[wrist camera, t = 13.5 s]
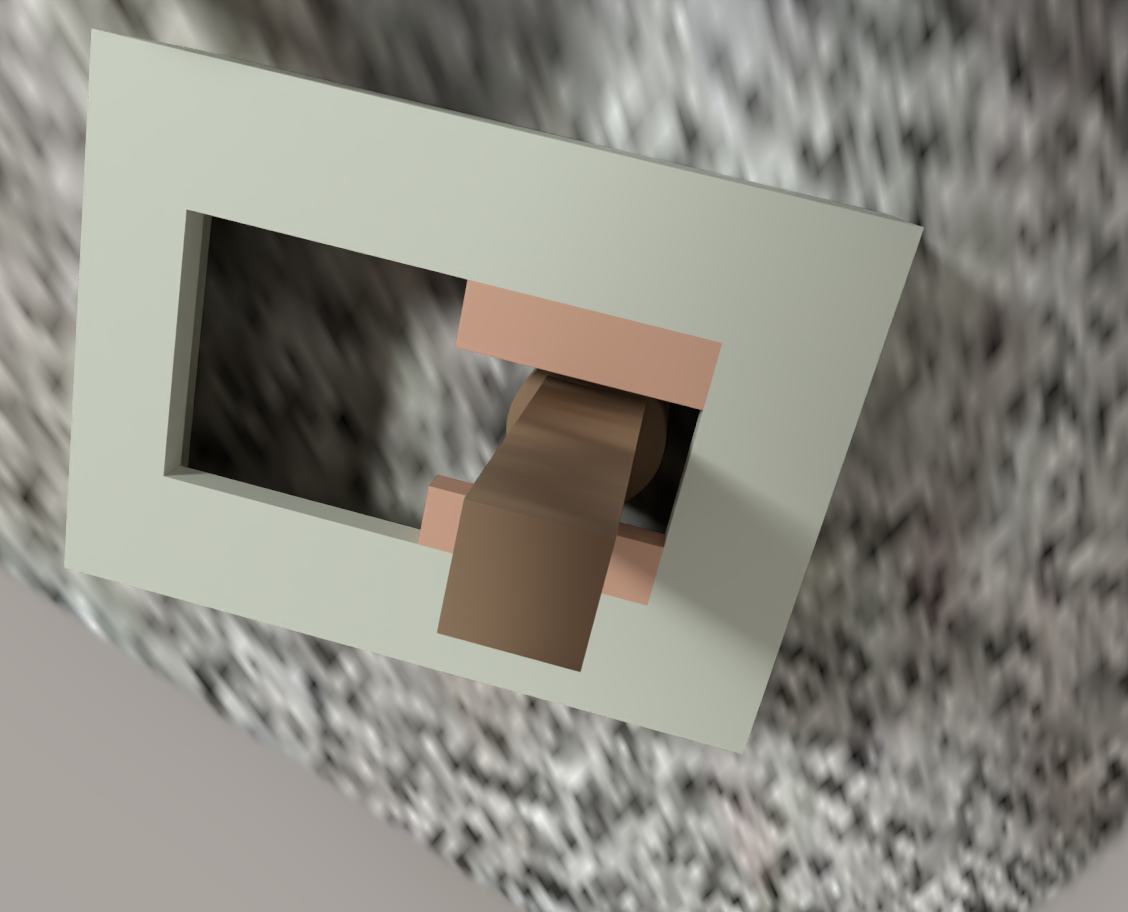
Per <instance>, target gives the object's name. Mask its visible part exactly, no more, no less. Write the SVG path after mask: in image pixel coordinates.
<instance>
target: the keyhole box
mask: <svg viewBox="0 0 1128 912" xmlns="http://www.w3.org/2000/svg"><path fill="white" fill-rule="evenodd" d="M212 216H215V217H219V218H223V219H227V220H231V221H235V222H239V223H243V224H247V225H251V226H255V227H259V228H263V229H267V230H271V231H275V232H279V233H283V234H287V235H291V236H295V237H299V238H303V239H308V240H312V241H316V242H320V243H324V244H328V245H332V246H336V247H340V248H344V249H348V250H352V251H356V252H360V253H364V254H368V255H372V256H376V257H380V258H384V259H388V260H392V261H396V262H400V263H404V264H408V265H412V266H416V267H420V268H424V269H428V270H432V271H436V272H440V273H444V274H448V275H452V276H456V277H460V278H464V279H468V280H467V286H466V291H465V296H464V302H463V307H462V312H461V318H460V323H459V328H458V333H457V339H456V344H455V347H456V348H460V349H464V350H468V351H472V352H476V353H480V354H484V355H488V356H491V357H495V358H499V359H503V360H507V361H511V362H515V363H519V364H523V365H527V366H531V367H535V368H539V369H543V370H547V371H551V372H554V373H558V374H562V375H566V376H570V377H574V378H578V379H582V380H586V381H590V382H594V383H598V384H602V385H606V386H610V387H613V388H617V389H621V390H625V391H629V392H633V393H637V394H641V395H645V396H649V397H653V398H657V399H661V400H665V401H669V402H672V403H676V404H680V405H684V406H688V407H692V408H696V409H700V414H699V417H698V421H697V424H696V428H695V431H694V435H693V438H692V442H691V445H690V449H689V452H688V456H687V459H686V463H685V466H684V470H683V473H682V477H681V480H680V484H679V487H678V491H677V494H676V498H675V501H674V505H673V509H672V512H671V516H670V519H669V523H668V526H667V530H666V533H665V534H661V533H658V532H654V531H650V530H646V529H642V528H639V527H635V526H631V525H627V524H623V523H619V527H618V532H617V536H616V540H615V544H614V548H613V552H612V556H611V559H610V563H609V567H608V571H607V574H606V578H605V582H604V586H603V589H602V593H601V597H600V601H599V604H598V608H597V612H596V616H595V620H594V623H593V627H592V631H591V635H590V638H589V642H588V646H587V650H586V653H585V657H584V661H583V665H582V669H581V672H578V671H574V670H570V669H567V668H563V667H559V666H556V665H552V664H548V663H545V662H541V661H537V660H534V659H530V658H526V657H523V656H519V655H515V654H512V653H508V652H504V651H501V650H497V649H493V648H490V647H486V646H482V645H479V644H475V643H471V642H468V641H464V640H460V639H457V638H453V637H449V636H446V635H442V634H438V633H437V629H438V624H439V619H440V614H441V609H442V604H443V599H444V595H445V590H446V585H447V580H448V575H449V570H450V565H451V560H452V555H453V550H454V545H455V540H456V535H457V530H458V526H459V521H460V516H461V511H462V506H463V501H464V498H465V496H466V495H467V493H468V492H469V491H470V489H471V488H472V486H473V485H474V484H471V483H467V482H463V481H460V480H456V479H452V478H448V477H444V476H441V475H437V476H436V478H435V479H434V480H433V481H432V483H431V484H430V485H429V487H428V493H427V498H426V503H425V508H424V514H423V519H422V524H421V530H420V529H416V528H412V527H409V526H405V525H401V524H397V523H394V522H390V521H386V520H382V519H379V518H375V517H371V516H367V515H364V514H360V513H356V512H352V511H349V510H345V509H341V508H337V507H334V506H330V505H326V504H322V503H319V502H315V501H311V500H307V499H304V498H300V497H296V496H292V495H289V494H285V493H281V492H277V491H274V490H270V489H266V488H262V487H259V486H255V485H251V484H247V483H244V482H240V481H236V480H232V479H229V478H225V477H221V476H217V475H214V474H210V473H206V472H202V471H199V470H195V469H191V468H188V460H189V449H190V439H191V428H192V418H193V407H194V397H195V386H196V376H197V366H198V355H199V345H200V334H201V324H202V313H203V303H204V292H205V282H206V272H207V261H208V251H209V240H210V230H211V219H212ZM923 229H924V227H921V226H918V225H915V224H912V223H910V222H907V221H904V220H901V219H898V218H895V217H893V216H890V215H887V214H884V213H880V212H876V211H872V210H867V209H863V208H859V207H855V206H851V205H846V204H842V203H838V202H834V201H830V200H826V199H821V198H817V197H813V196H809V195H805V194H800V193H796V192H792V191H788V190H784V189H780V188H775V187H771V186H767V185H763V184H759V183H754V182H750V181H746V180H742V179H738V178H733V177H729V176H725V175H721V174H717V173H713V172H708V171H704V170H700V169H696V168H692V167H687V166H683V165H679V164H675V163H671V162H666V161H662V160H658V159H654V158H650V157H646V156H641V155H637V154H633V153H629V152H625V151H620V150H616V149H612V148H608V147H604V146H600V145H595V144H591V143H587V142H583V141H579V140H574V139H570V138H566V137H562V136H558V135H553V134H549V133H545V132H541V131H537V130H533V129H528V128H524V127H520V126H516V125H512V124H507V123H503V122H499V121H495V120H491V119H487V118H482V117H478V116H474V115H470V114H466V113H461V112H457V111H453V110H449V109H445V108H440V107H436V106H432V105H428V104H424V103H420V102H415V101H411V100H407V99H403V98H399V97H394V96H390V95H386V94H382V93H378V92H373V91H369V90H365V89H361V88H357V87H353V86H348V85H344V84H340V83H336V82H332V81H327V80H323V79H319V78H315V77H311V76H307V75H302V74H298V73H294V72H290V71H286V70H281V69H277V68H273V67H269V66H265V65H260V64H256V63H252V62H248V61H244V60H240V59H235V58H231V57H227V56H223V55H219V54H214V53H210V52H206V51H202V50H198V49H193V48H188V47H183V46H178V45H172V44H167V43H162V42H157V41H152V40H147V39H142V38H137V37H132V36H127V35H122V34H117V33H112V32H107V31H102V30H97V29H92V31H91V51H90V71H89V90H88V110H87V130H86V150H85V169H84V189H83V209H82V228H81V248H80V268H79V287H78V307H77V327H76V346H75V366H74V386H73V405H72V425H71V445H70V465H69V484H68V504H67V524H66V543H65V563H64V567H65V568H68V569H72V570H75V571H79V572H83V573H86V574H90V575H94V576H97V577H101V578H104V579H108V580H112V581H115V582H119V583H123V584H126V585H130V586H134V587H137V588H141V589H144V590H148V591H152V592H155V593H159V594H163V595H166V596H170V597H173V598H177V599H181V600H184V601H188V602H192V603H195V604H199V605H203V606H206V607H210V608H213V609H217V610H221V611H224V612H228V613H232V614H235V615H239V616H242V617H246V618H250V619H253V620H257V621H261V622H264V623H268V624H272V625H275V626H279V627H282V628H286V629H290V630H293V631H297V632H301V633H304V634H308V635H312V636H315V637H319V638H322V639H326V640H330V641H333V642H337V643H341V644H344V645H348V646H351V647H355V648H359V649H362V650H366V651H370V652H373V653H377V654H381V655H384V656H388V657H391V658H395V659H399V660H402V661H406V662H410V663H413V664H417V665H420V666H424V667H428V668H431V669H435V670H439V671H442V672H446V673H450V674H453V675H457V676H460V677H464V678H468V679H471V680H475V681H479V682H482V683H486V684H489V685H493V686H497V687H500V688H504V689H508V690H511V691H515V692H519V693H522V694H526V695H529V696H533V697H537V698H540V699H544V700H548V701H551V702H555V703H558V704H562V705H566V706H569V707H573V708H577V709H580V710H584V711H588V712H591V713H595V714H598V715H602V716H606V717H609V718H613V719H617V720H620V721H624V722H627V723H631V724H635V725H638V726H642V727H646V728H649V729H653V730H657V731H660V732H664V733H667V734H671V735H675V736H678V737H682V738H686V739H689V740H693V741H696V742H700V743H704V744H707V745H711V746H715V747H718V748H722V749H726V750H729V751H733V752H736V753H740V754H743V753H744V750H745V747H746V744H747V741H748V738H749V735H750V732H751V729H752V726H753V724H754V721H755V718H756V715H757V712H758V709H759V706H760V703H761V700H762V697H763V695H764V692H765V689H766V686H767V683H768V680H769V677H770V674H771V671H772V668H773V665H774V663H775V660H776V657H777V654H778V651H779V648H780V645H781V642H782V639H783V636H784V633H785V631H786V628H787V625H788V622H789V619H790V616H791V613H792V610H793V607H794V604H795V601H796V599H797V596H798V593H799V590H800V587H801V584H802V581H803V578H804V575H805V572H806V570H807V567H808V564H809V561H810V558H811V555H812V552H813V549H814V546H815V543H816V540H817V538H818V535H819V532H820V529H821V526H822V523H823V520H824V517H825V514H826V511H827V508H828V506H829V503H830V500H831V497H832V494H833V491H834V488H835V485H836V482H837V479H838V476H839V474H840V471H841V468H842V465H843V462H844V459H845V456H846V453H847V450H848V447H849V445H850V442H851V439H852V436H853V433H854V430H855V427H856V424H857V421H858V418H859V415H860V413H861V410H862V407H863V404H864V401H865V398H866V395H867V392H868V389H869V386H870V383H871V381H872V378H873V375H874V372H875V369H876V366H877V363H878V360H879V357H880V354H881V351H882V349H883V346H884V343H885V340H886V337H887V334H888V331H889V328H890V325H891V322H892V320H893V317H894V314H895V311H896V308H897V305H898V302H899V299H900V296H901V293H902V290H903V288H904V285H905V282H906V279H907V276H908V273H909V270H910V267H911V264H912V261H913V258H914V256H915V253H916V250H917V247H918V244H919V241H920V238H921V235H922V232H923Z"/></svg>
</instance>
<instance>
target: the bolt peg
mask: <svg viewBox="0 0 1128 912" xmlns="http://www.w3.org/2000/svg"><path fill="white" fill-rule="evenodd" d="M669 408H670V402H669V401H665V400H661V399H657V398H653V397H649V396H645V395H641V394H637V393H633V392H629V391H625V390H621V389H617V388H613V387H610V386H606V385H602V384H598V383H594V382H590V381H586V380H582V379H578V378H574V377H570V376H566V375H562V374H558V373H554V372H551V371H547V370H543V369H539V368H535V369H534V370H533V372H532V373H531V374H530V376H529V377H528V378H527V380H526V381H525V382H524V384H523V385H522V386H521V388H520V389H519V391H518V392H517V394H516V396H515V397H514V399H513V402H512V404H511V406H510V410H509V413H508V418H507V425H506V437H505V439H504V440H503V442H502V443H501V445H500V446H499V448H498V449H497V451H496V452H495V454H494V455H493V457H492V458H491V460H490V461H489V463H488V464H487V465H486V467H485V468H484V470H483V471H482V473H481V474H480V476H479V477H478V479H477V480H476V482H475V483H474V485H473V486H472V488H471V489H470V491H469V492H468V493H467V495H466V496H465V498H464V501H463V506H462V511H461V516H460V521H459V526H458V530H457V535H456V540H455V545H454V550H453V555H452V560H451V565H450V570H449V575H448V580H447V585H446V590H445V595H444V599H443V604H442V609H441V614H440V619H439V624H438V629H437V633H438V634H442V635H446V636H449V637H453V638H457V639H460V640H464V641H468V642H471V643H475V644H479V645H482V646H486V647H490V648H493V649H497V650H501V651H504V652H508V653H512V654H515V655H519V656H523V657H526V658H530V659H534V660H537V661H541V662H545V663H548V664H552V665H556V666H559V667H563V668H567V669H570V670H574V671H578V672H581V669H582V665H583V661H584V657H585V653H586V650H587V646H588V642H589V638H590V635H591V631H592V627H593V623H594V620H595V616H596V612H597V608H598V604H599V601H600V597H601V593H602V589H603V586H604V582H605V578H606V574H607V571H608V567H609V563H610V559H611V556H612V552H613V548H614V544H615V540H616V536H617V532H618V527H619V523H620V518H621V514H622V509H623V504H624V502H626V501H628V500H629V499H631V498H632V497H634V496H636V495H637V494H638V493H639V492H640V491H642V490H643V489H644V488H645V487H646V486H647V484H648V483H649V482H650V481H651V479H652V478H653V477H654V475H655V474H656V472H657V470H658V468H659V466H660V463H661V460H662V458H663V454H664V449H665V443H666V435H667V427H668V419H669Z"/></svg>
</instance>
